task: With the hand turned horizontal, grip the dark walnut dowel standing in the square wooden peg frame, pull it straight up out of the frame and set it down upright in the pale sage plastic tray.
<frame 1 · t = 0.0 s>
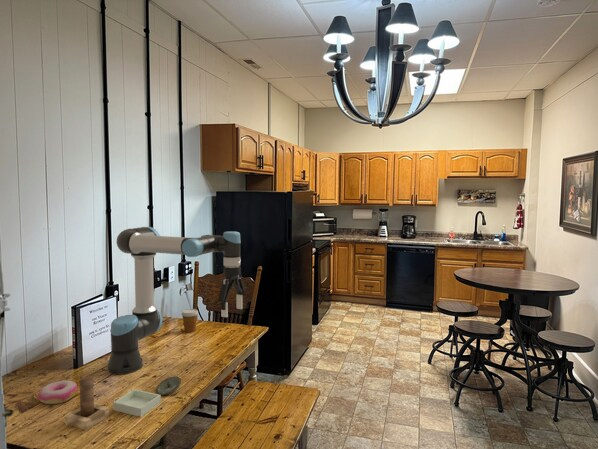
hand: (232, 312, 187), 28 cm above the table, tool pointing down, fingers open, 13 cm apart
square wooden peg frame: (87, 419, 149), on the table
lid: (168, 390, 172), on the table
disposable coffee cup: (190, 331, 245), on the table
dowel: (87, 399, 149), in the square wooden peg frame
tray: (137, 406, 159), on the table
donut: (58, 398, 165), on the table
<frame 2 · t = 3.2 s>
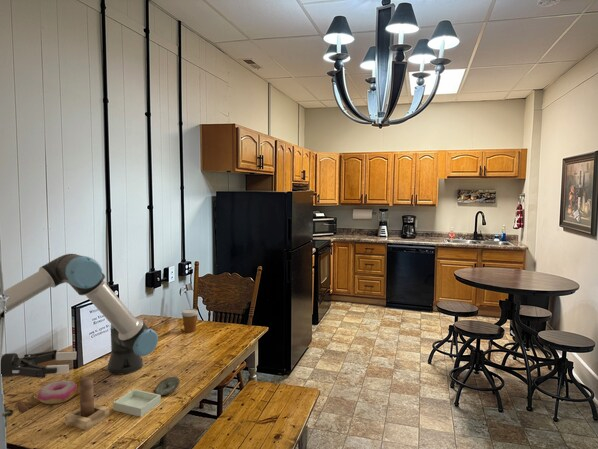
hand: (72, 361, 146), 22 cm above the table, tool horizontal, fingers open, 13 cm apart
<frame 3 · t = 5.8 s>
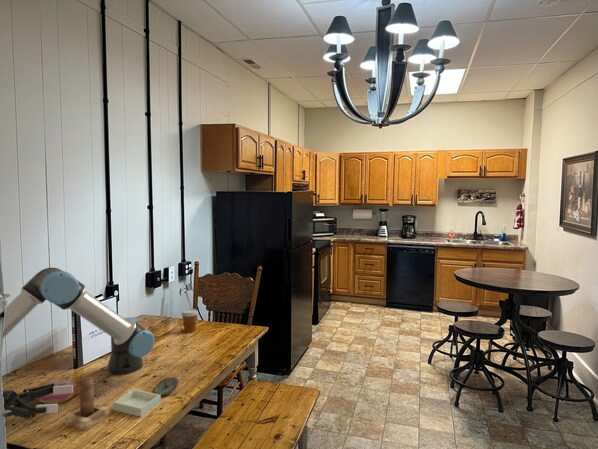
hand: (65, 398, 147), 9 cm above the table, tool horizontal, fingers open, 13 cm apart
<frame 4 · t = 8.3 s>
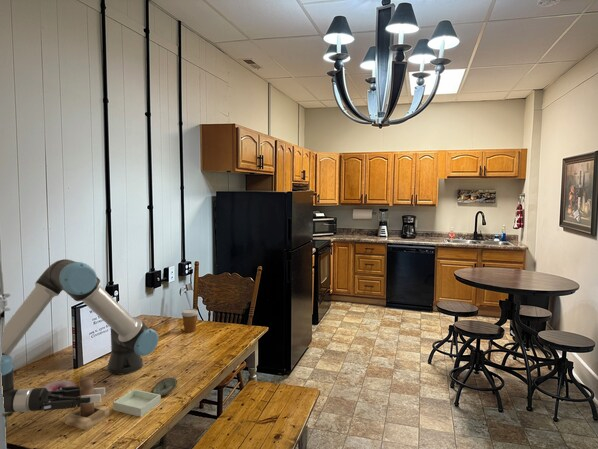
hand: (102, 394, 149), 9 cm above the table, tool horizontal, fingers closed on dowel, 4 cm apart
dowel: (87, 399, 149), in the square wooden peg frame, touching gripper
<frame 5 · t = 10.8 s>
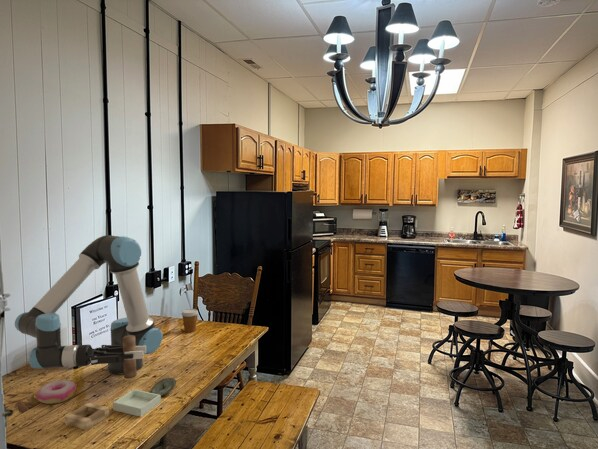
hand: (144, 351, 156), 22 cm above the table, tool horizontal, fingers closed on dowel, 4 cm apart
dowel: (129, 356, 155), point 20 cm above the table, touching gripper
when the fingers open (11 cm above the table, at t = 13.4 s): dowel stays where it is, resting on tray.
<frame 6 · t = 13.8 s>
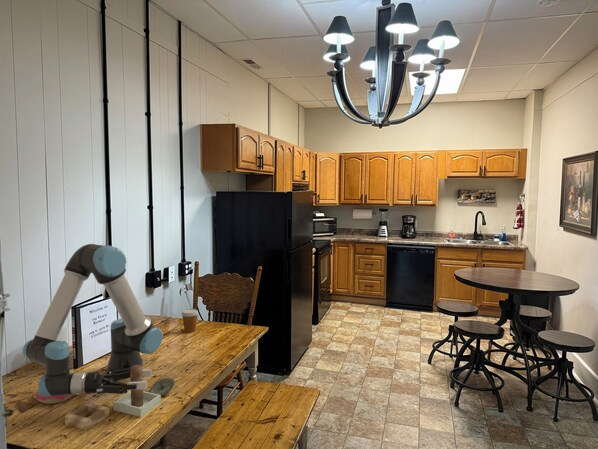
hand: (149, 378, 159), 11 cm above the table, tool horizontal, fingers open, 9 cm apart
dowel: (136, 386, 158), in the tray, point 8 cm above the table
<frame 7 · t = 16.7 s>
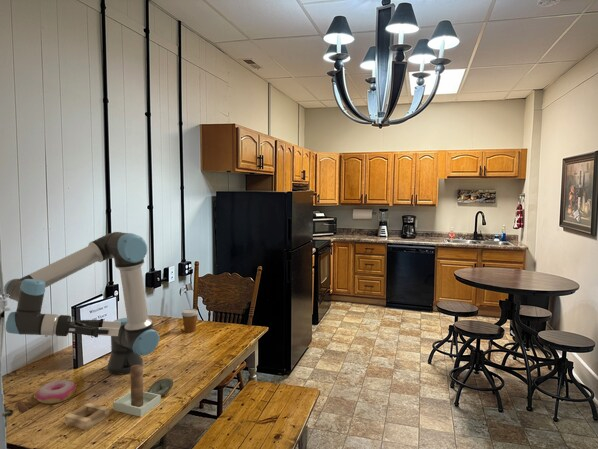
hand: (119, 328, 159), 30 cm above the table, tool horizontal, fingers open, 13 cm apart
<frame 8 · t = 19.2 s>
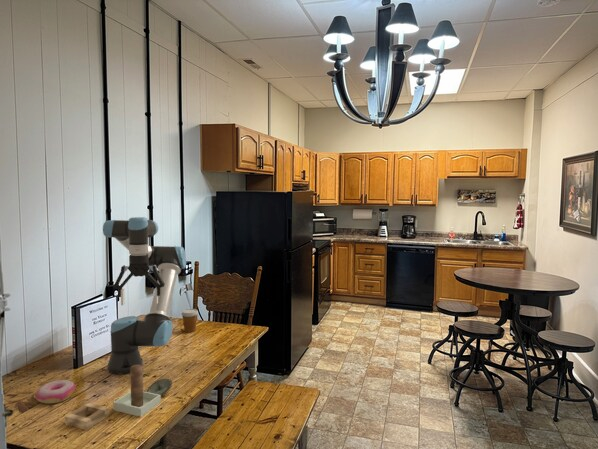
hand: (139, 304, 175), 35 cm above the table, tool pointing down, fingers open, 13 cm apart
at the end: dowel inside the target area on the tray (0.1 cm from its centre), point 8.1 cm above the tray's base; dowel tilted 0°; the gripper is holding nothing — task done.
